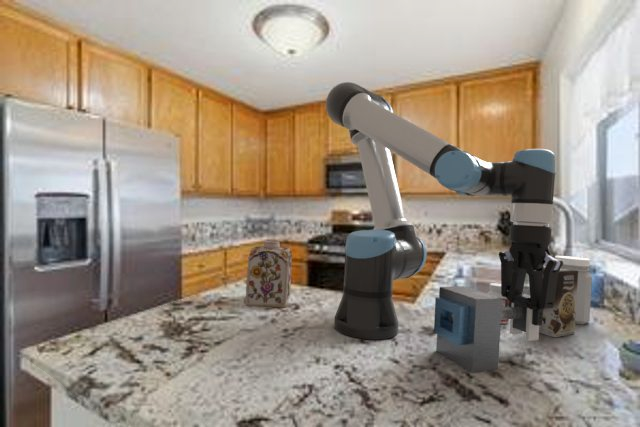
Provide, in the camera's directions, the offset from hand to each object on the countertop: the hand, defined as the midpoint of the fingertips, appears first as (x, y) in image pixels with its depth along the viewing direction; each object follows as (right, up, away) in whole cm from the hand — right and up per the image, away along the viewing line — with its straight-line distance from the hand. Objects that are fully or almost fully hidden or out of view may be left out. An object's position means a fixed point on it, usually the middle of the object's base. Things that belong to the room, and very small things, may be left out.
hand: (523, 336), depth 73 cm
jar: (+29, -5, +28) cm, 40 cm away
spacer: (-18, +2, -6) cm, 19 cm away
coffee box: (+16, -5, +16) cm, 23 cm away
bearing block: (-14, -3, -5) cm, 15 cm away
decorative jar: (-58, -1, +30) cm, 65 cm away
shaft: (-8, +2, -3) cm, 9 cm away
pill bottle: (+6, -4, +23) cm, 24 cm away
